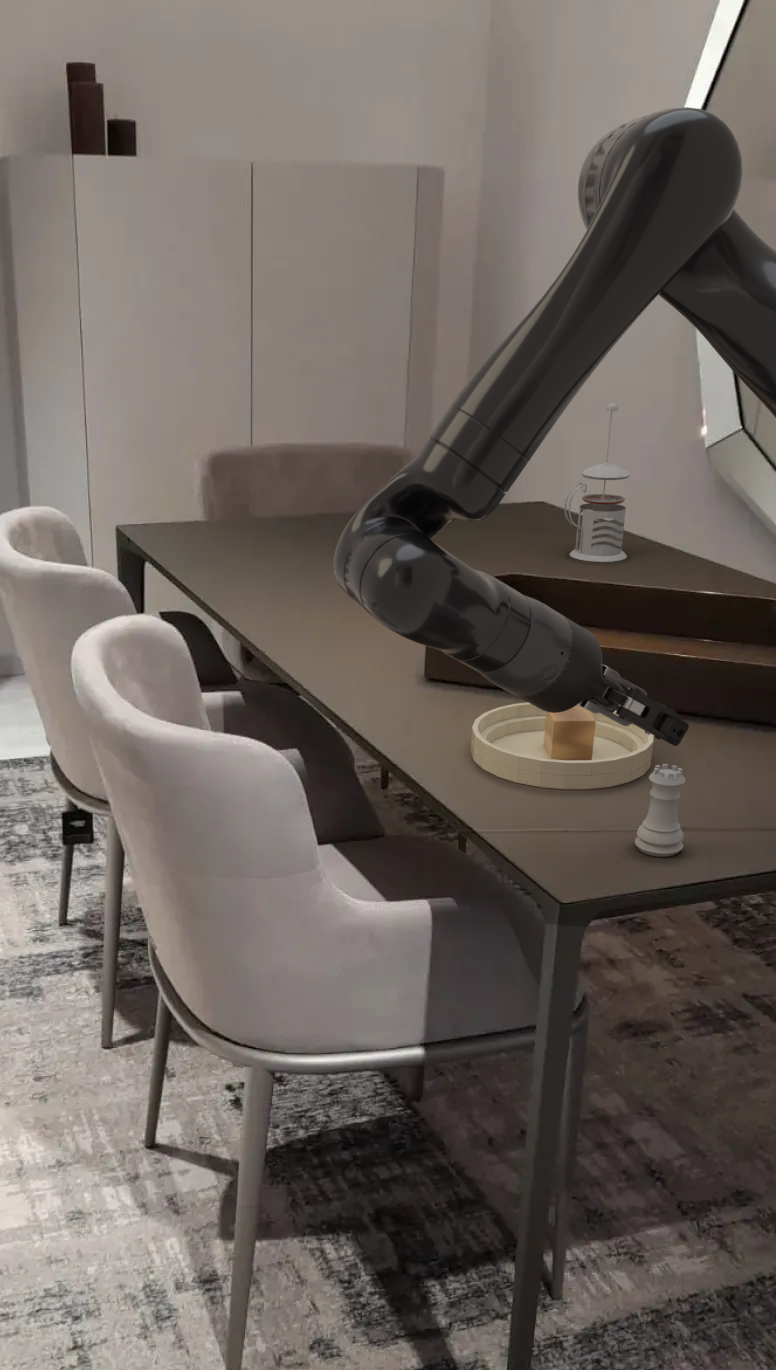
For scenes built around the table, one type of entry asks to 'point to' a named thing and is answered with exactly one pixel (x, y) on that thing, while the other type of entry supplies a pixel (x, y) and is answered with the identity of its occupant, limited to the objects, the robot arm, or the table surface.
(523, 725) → the round cream tray
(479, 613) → the robot arm
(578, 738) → the block
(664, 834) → the rook chess piece
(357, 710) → the table surface
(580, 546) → the french press
